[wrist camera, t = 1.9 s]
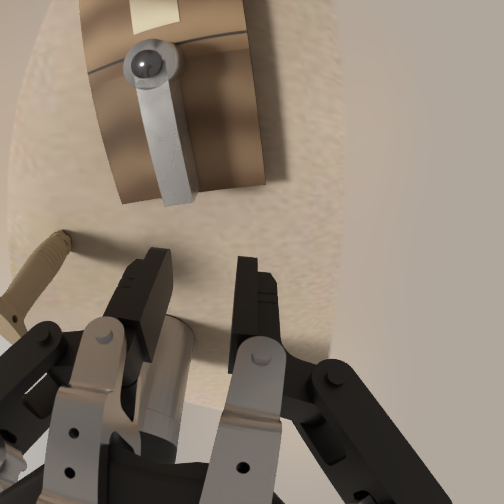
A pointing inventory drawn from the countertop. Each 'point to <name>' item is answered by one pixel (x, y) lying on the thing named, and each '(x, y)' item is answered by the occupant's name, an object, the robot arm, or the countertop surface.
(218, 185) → the board
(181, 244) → the countertop surface
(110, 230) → the countertop surface
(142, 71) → the latch bar
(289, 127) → the countertop surface
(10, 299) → the handle
